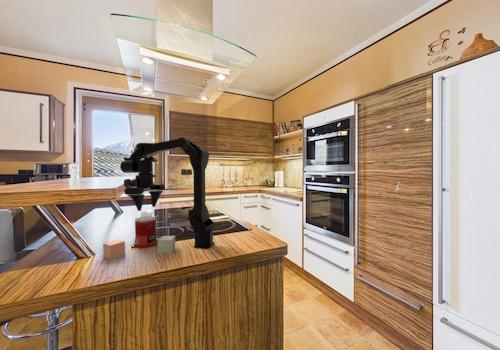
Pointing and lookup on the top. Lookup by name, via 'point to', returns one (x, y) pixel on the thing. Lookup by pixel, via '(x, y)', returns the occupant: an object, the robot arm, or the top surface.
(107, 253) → the terracotta block
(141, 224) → the canned food
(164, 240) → the sage block
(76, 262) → the top surface
